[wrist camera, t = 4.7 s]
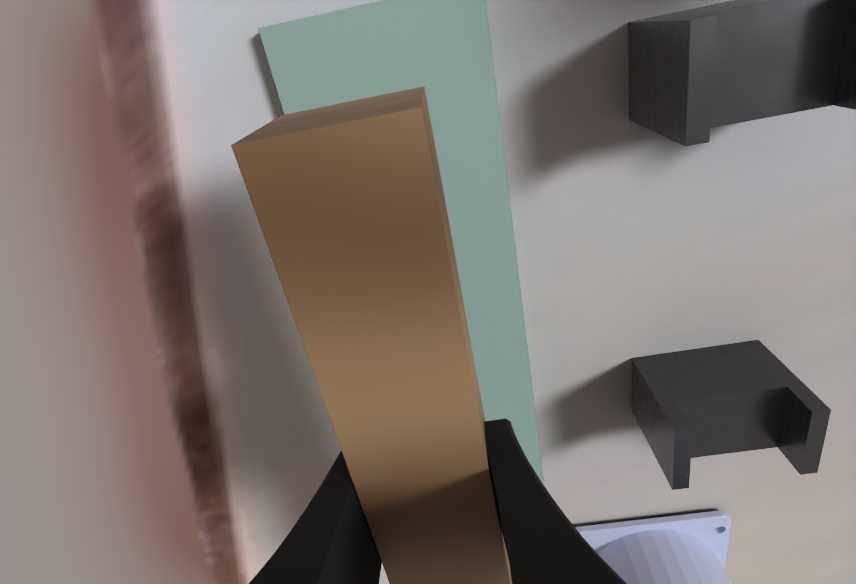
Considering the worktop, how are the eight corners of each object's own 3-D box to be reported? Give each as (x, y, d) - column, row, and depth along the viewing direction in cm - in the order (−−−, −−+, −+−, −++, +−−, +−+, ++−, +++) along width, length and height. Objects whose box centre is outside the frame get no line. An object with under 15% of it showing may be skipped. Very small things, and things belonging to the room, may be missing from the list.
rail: (519, 611, 18) (533, 710, 16) (437, 619, 19) (438, 717, 16) (424, 86, 10) (421, 107, 8) (282, 114, 11) (231, 145, 8)
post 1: (789, 89, 17) (895, 107, 13) (629, 119, 17) (686, 145, 14) (802, -14, 16) (925, -29, 12) (628, 22, 16) (690, 20, 12)
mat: (543, 485, 25) (545, 495, 25) (406, 502, 26) (405, 512, 26) (481, -20, 16) (482, -22, 15) (263, 28, 16) (258, 28, 16)
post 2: (751, 396, 23) (817, 472, 19) (632, 412, 23) (672, 489, 19) (758, 340, 21) (830, 409, 18) (632, 358, 22) (674, 430, 18)
